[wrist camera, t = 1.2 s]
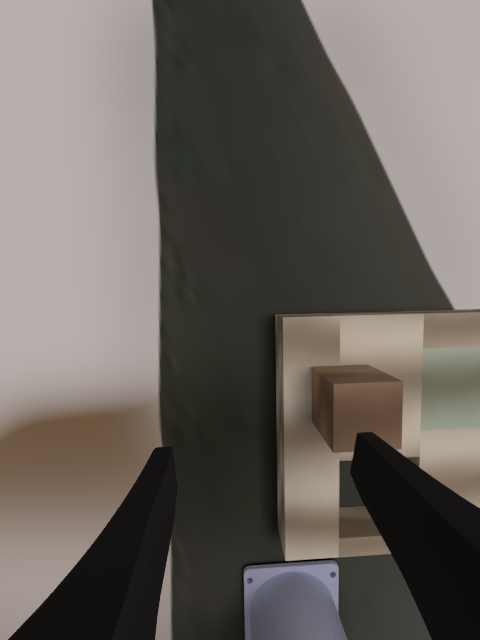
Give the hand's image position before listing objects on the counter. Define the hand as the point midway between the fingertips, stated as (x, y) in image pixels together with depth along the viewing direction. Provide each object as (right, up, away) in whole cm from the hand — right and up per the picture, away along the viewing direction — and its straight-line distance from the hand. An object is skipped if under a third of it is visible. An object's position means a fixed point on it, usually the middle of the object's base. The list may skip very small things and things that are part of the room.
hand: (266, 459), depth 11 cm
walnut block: (+6, 0, +9) cm, 11 cm away
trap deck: (+13, -3, +13) cm, 18 cm away
